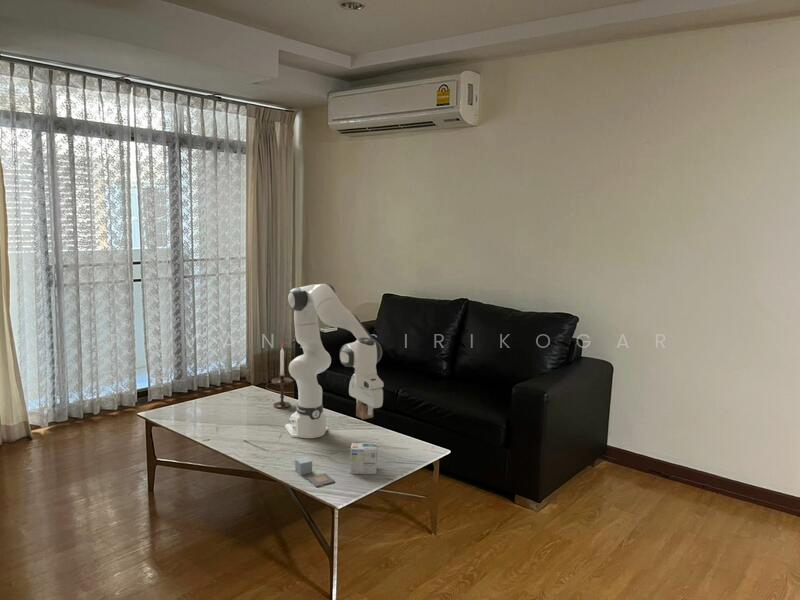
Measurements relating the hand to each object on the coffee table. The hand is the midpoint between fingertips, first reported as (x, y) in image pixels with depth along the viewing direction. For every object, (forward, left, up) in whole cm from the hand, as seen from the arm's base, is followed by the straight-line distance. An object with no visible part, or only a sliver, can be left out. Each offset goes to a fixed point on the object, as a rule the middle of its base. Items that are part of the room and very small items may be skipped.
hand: (364, 412), depth 233 cm
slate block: (-12, -21, -25) cm, 35 cm away
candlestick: (-91, +5, -25) cm, 94 cm away
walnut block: (0, 0, -2) cm, 2 cm away
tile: (-1, -19, -25) cm, 31 cm away
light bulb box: (0, 0, -25) cm, 25 cm away
